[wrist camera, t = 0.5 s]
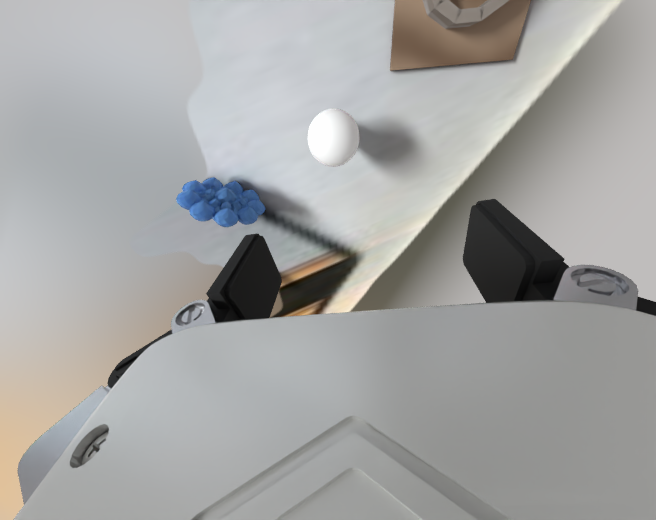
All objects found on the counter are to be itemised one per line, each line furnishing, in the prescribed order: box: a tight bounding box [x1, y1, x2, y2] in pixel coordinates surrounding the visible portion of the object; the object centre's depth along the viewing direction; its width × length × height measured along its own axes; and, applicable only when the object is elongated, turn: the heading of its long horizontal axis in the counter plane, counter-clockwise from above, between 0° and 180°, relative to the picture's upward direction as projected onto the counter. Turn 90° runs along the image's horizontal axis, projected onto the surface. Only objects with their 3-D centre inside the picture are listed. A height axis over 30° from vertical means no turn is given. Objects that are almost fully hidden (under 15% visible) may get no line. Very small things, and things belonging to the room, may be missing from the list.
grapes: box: [176, 177, 265, 227], centre depth 37 cm, size 12×7×12 cm, turn 65°
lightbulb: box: [308, 108, 359, 167], centre depth 30 cm, size 6×6×11 cm
